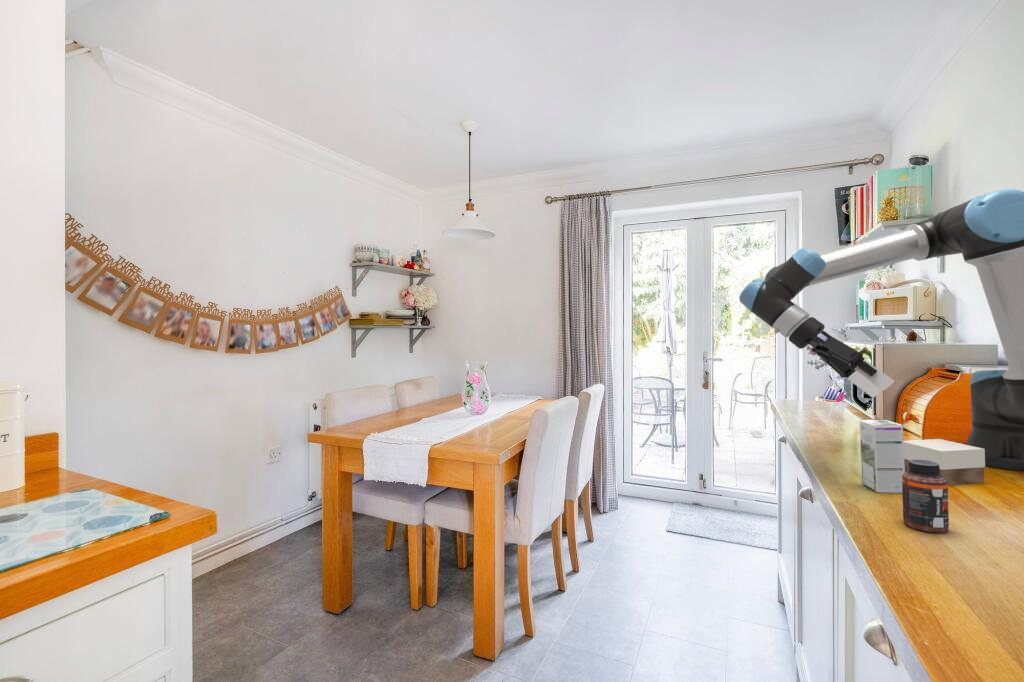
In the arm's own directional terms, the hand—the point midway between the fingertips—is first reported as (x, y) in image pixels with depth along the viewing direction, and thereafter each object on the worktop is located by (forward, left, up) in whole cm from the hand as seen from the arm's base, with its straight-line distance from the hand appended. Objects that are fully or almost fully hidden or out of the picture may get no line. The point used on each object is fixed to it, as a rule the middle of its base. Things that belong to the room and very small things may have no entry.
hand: (883, 390), depth 101 cm
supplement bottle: (+11, +21, -21) cm, 32 cm away
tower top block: (-16, -3, -17) cm, 24 cm away
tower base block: (-16, -3, -21) cm, 27 cm away
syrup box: (+2, +2, -21) cm, 21 cm away
